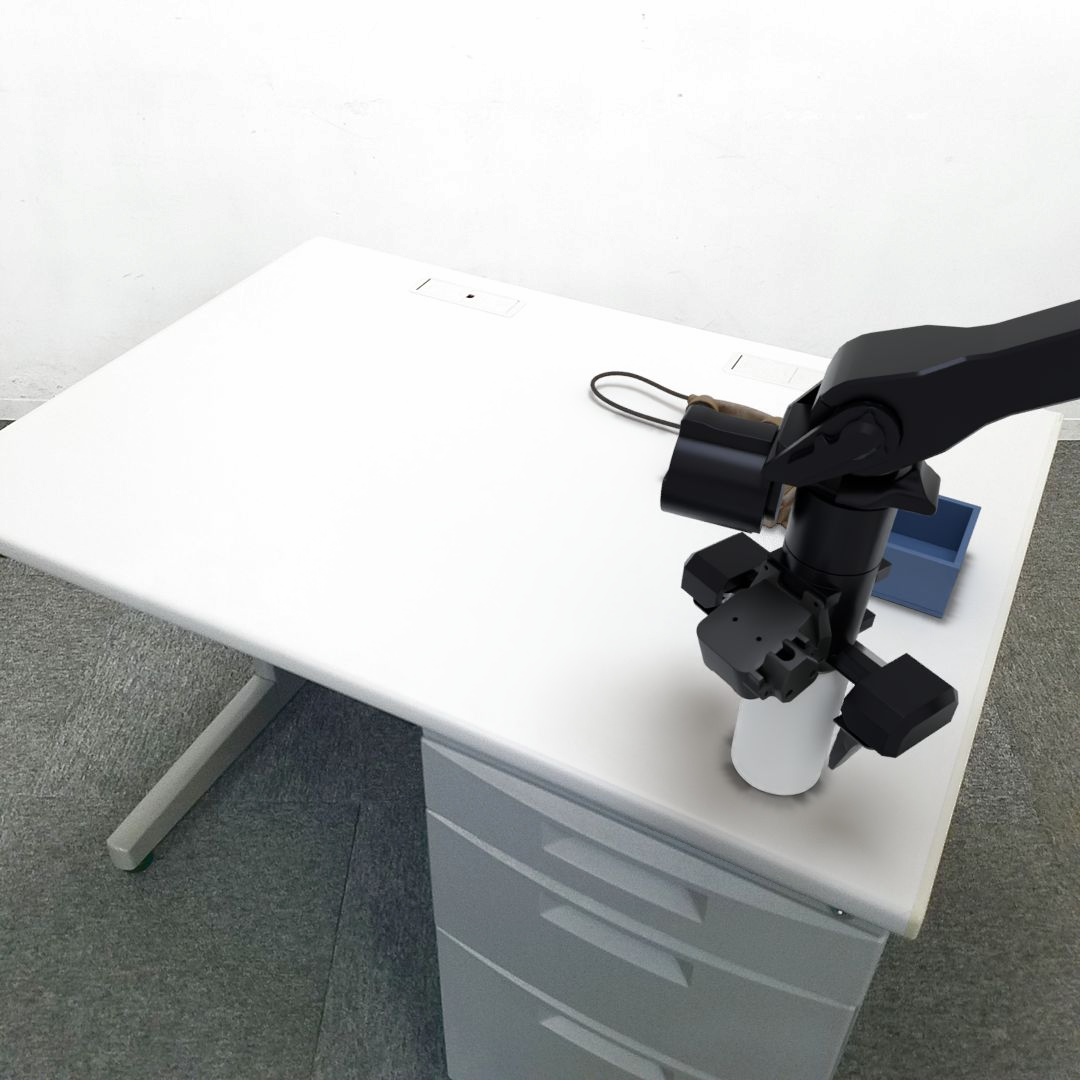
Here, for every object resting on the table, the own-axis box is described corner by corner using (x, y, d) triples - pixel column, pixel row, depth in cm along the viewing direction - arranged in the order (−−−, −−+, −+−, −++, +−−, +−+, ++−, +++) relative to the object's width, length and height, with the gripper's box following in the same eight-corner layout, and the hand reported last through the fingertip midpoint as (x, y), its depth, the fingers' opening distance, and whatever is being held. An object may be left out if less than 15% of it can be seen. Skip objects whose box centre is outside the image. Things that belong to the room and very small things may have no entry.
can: (717, 777, 68) (741, 656, 61) (746, 716, 73) (771, 597, 66) (806, 813, 66) (843, 692, 59) (830, 748, 71) (867, 628, 63)
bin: (941, 618, 82) (959, 568, 79) (824, 579, 86) (837, 530, 83) (964, 554, 89) (981, 506, 86) (854, 521, 93) (867, 473, 90)
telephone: (619, 371, 116) (621, 339, 113) (875, 475, 99) (884, 441, 96) (537, 424, 107) (537, 391, 105) (802, 548, 90) (810, 512, 88)
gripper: (629, 509, 60) (611, 685, 69) (864, 698, 48) (802, 878, 57) (759, 457, 65) (725, 627, 74) (1001, 616, 53) (923, 794, 62)
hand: (784, 721), depth 67 cm, fingers open, 9 cm apart
